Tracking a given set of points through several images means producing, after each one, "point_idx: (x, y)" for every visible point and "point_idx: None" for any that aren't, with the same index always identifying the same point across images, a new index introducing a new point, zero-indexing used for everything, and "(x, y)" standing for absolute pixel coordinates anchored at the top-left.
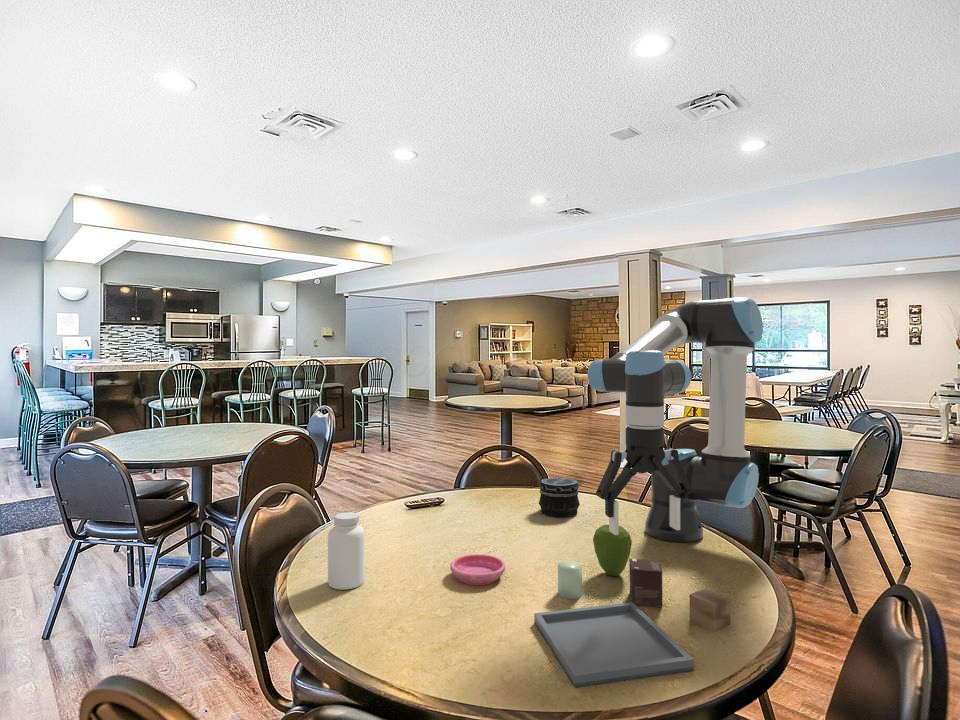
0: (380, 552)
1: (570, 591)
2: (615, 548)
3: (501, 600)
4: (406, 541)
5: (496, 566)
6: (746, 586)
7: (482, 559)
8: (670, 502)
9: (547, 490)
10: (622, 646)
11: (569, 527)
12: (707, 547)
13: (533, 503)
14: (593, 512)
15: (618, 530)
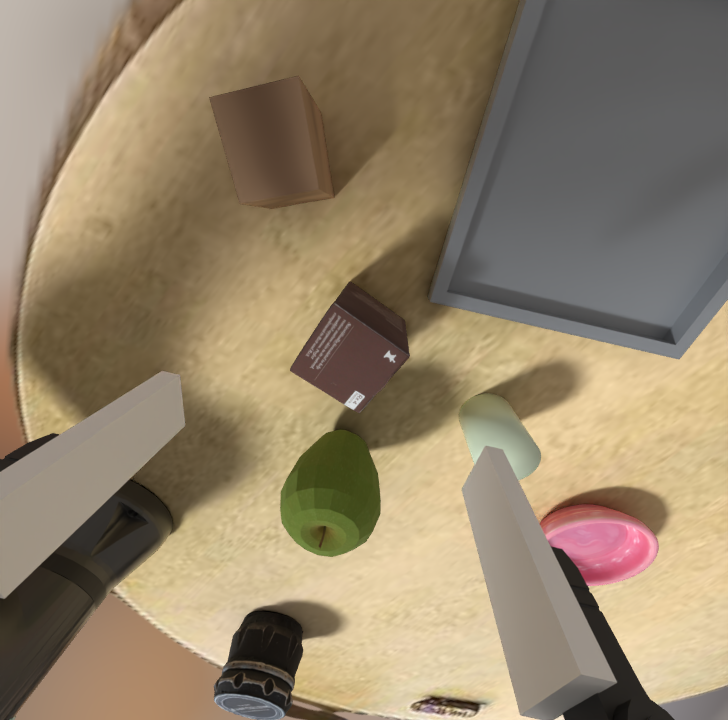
0: (641, 639)
1: (509, 406)
2: (354, 468)
3: (625, 449)
4: None
5: None
6: (95, 276)
7: None
8: (64, 531)
9: (287, 690)
10: (615, 139)
11: (293, 588)
12: None
13: None
14: (218, 606)
15: (491, 461)
